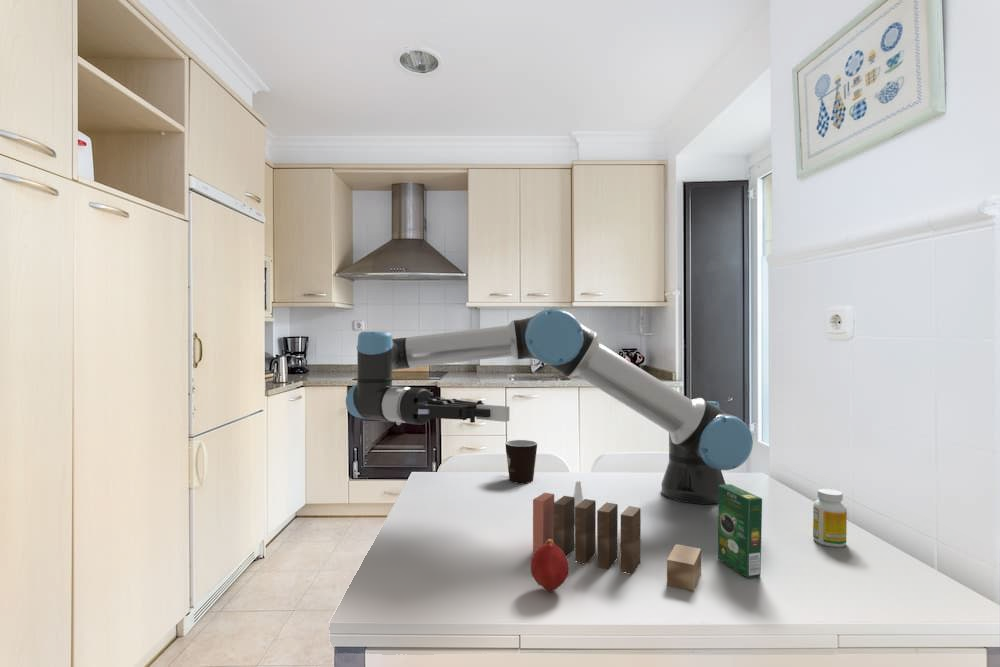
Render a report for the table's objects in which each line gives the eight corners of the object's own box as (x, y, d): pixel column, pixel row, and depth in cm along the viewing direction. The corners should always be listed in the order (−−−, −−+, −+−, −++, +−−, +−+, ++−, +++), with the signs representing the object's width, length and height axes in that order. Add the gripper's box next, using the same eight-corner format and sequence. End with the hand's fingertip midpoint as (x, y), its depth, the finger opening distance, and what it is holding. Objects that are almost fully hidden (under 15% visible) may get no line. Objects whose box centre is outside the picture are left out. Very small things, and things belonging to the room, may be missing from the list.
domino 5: (620, 571, 88) (620, 514, 88) (628, 560, 92) (628, 505, 92) (632, 574, 87) (632, 516, 87) (640, 563, 91) (640, 507, 91)
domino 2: (553, 557, 94) (553, 503, 94) (564, 547, 98) (564, 495, 98) (564, 559, 93) (564, 504, 93) (574, 549, 97) (574, 497, 97)
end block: (667, 585, 83) (667, 559, 83) (675, 568, 89) (675, 544, 89) (693, 591, 81) (693, 564, 81) (701, 573, 87) (701, 548, 87)
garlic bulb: (576, 513, 119) (574, 476, 119) (600, 517, 114) (597, 479, 115) (558, 520, 114) (556, 482, 115) (582, 524, 110) (579, 485, 110)
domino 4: (597, 566, 90) (597, 510, 90) (606, 556, 94) (606, 502, 94) (608, 569, 89) (608, 512, 89) (617, 558, 93) (617, 504, 93)
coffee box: (763, 578, 86) (763, 496, 86) (748, 580, 85) (748, 498, 85) (731, 557, 93) (731, 483, 93) (716, 559, 93) (716, 484, 93)
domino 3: (574, 561, 92) (574, 506, 92) (584, 551, 96) (585, 498, 96) (585, 564, 91) (585, 508, 91) (595, 553, 95) (595, 500, 95)
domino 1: (532, 552, 96) (533, 499, 96) (544, 543, 100) (544, 492, 100) (543, 554, 95) (543, 501, 95) (554, 545, 99) (554, 494, 99)
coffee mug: (535, 485, 138) (535, 447, 138) (502, 483, 140) (502, 445, 140) (540, 474, 150) (540, 438, 150) (510, 472, 151) (510, 437, 151)
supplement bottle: (806, 539, 102) (806, 489, 102) (824, 535, 104) (824, 486, 104) (835, 550, 97) (835, 497, 97) (853, 545, 99) (853, 493, 99)
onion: (528, 583, 84) (528, 532, 84) (564, 581, 84) (564, 531, 84) (533, 601, 78) (533, 546, 78) (572, 599, 79) (572, 545, 79)
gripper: (427, 419, 118) (522, 428, 107) (388, 427, 107) (490, 439, 95) (428, 385, 118) (523, 391, 107) (388, 390, 107) (490, 397, 95)
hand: (507, 414), depth 101 cm, fingers closed
